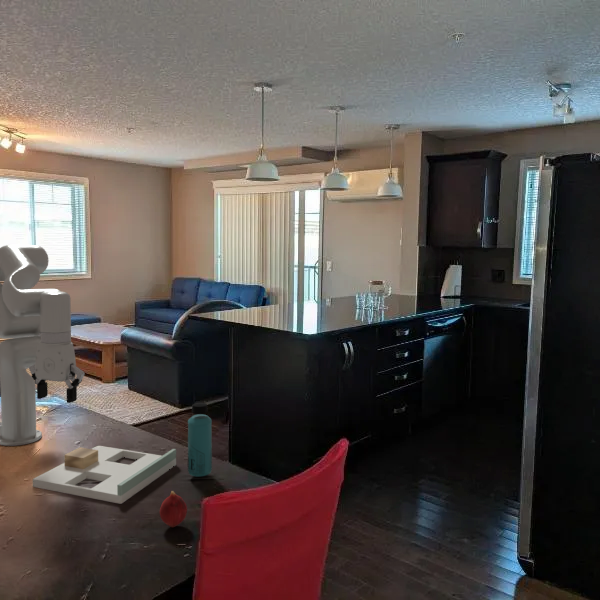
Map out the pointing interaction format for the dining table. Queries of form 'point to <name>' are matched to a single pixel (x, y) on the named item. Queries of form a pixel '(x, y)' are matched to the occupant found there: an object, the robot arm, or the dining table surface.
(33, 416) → the robot arm
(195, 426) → the beverage bottle
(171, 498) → the onion
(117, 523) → the dining table surface
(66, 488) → the board
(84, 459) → the block
